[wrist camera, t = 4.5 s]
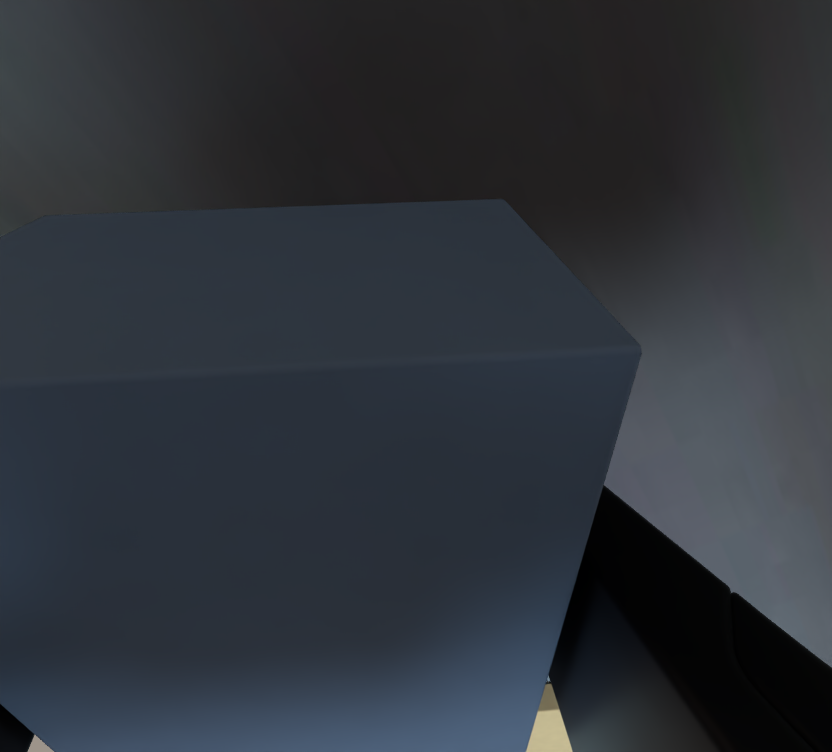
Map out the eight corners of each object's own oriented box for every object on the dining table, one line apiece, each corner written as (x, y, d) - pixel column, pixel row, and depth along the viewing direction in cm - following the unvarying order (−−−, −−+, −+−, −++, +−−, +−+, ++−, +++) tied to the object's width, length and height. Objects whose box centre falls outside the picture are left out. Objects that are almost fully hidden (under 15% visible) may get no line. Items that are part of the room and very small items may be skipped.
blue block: (193, 554, 10) (105, 800, 7) (42, 214, 6) (-351, 401, 3) (476, 532, 10) (525, 758, 7) (505, 197, 6) (647, 348, 3)
